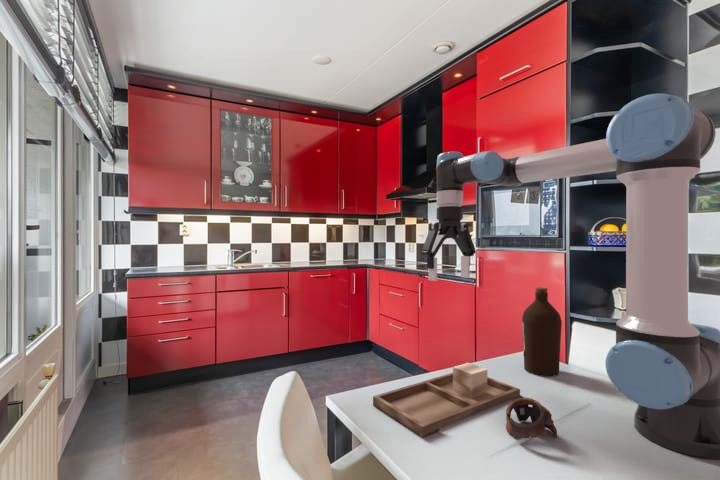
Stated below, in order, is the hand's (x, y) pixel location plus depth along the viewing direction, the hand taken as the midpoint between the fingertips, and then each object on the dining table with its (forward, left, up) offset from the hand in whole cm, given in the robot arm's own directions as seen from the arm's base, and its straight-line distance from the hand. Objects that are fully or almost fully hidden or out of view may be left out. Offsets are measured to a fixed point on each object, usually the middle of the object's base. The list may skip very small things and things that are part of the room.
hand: (449, 279), depth 106 cm
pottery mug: (-31, +11, -28) cm, 44 cm away
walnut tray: (-12, +14, -28) cm, 33 cm away
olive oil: (-13, -25, -28) cm, 40 cm away
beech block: (-12, +6, -27) cm, 31 cm away
